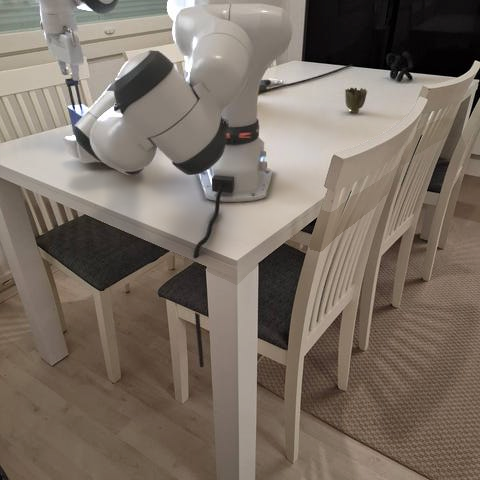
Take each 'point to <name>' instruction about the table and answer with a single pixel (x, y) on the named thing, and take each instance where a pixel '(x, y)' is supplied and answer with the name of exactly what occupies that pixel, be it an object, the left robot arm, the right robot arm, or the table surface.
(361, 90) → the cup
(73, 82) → the lid
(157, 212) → the table surface
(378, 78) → the table surface
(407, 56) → the squiggle
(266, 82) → the spray bottle
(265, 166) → the right robot arm
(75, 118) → the chest
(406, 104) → the table surface
